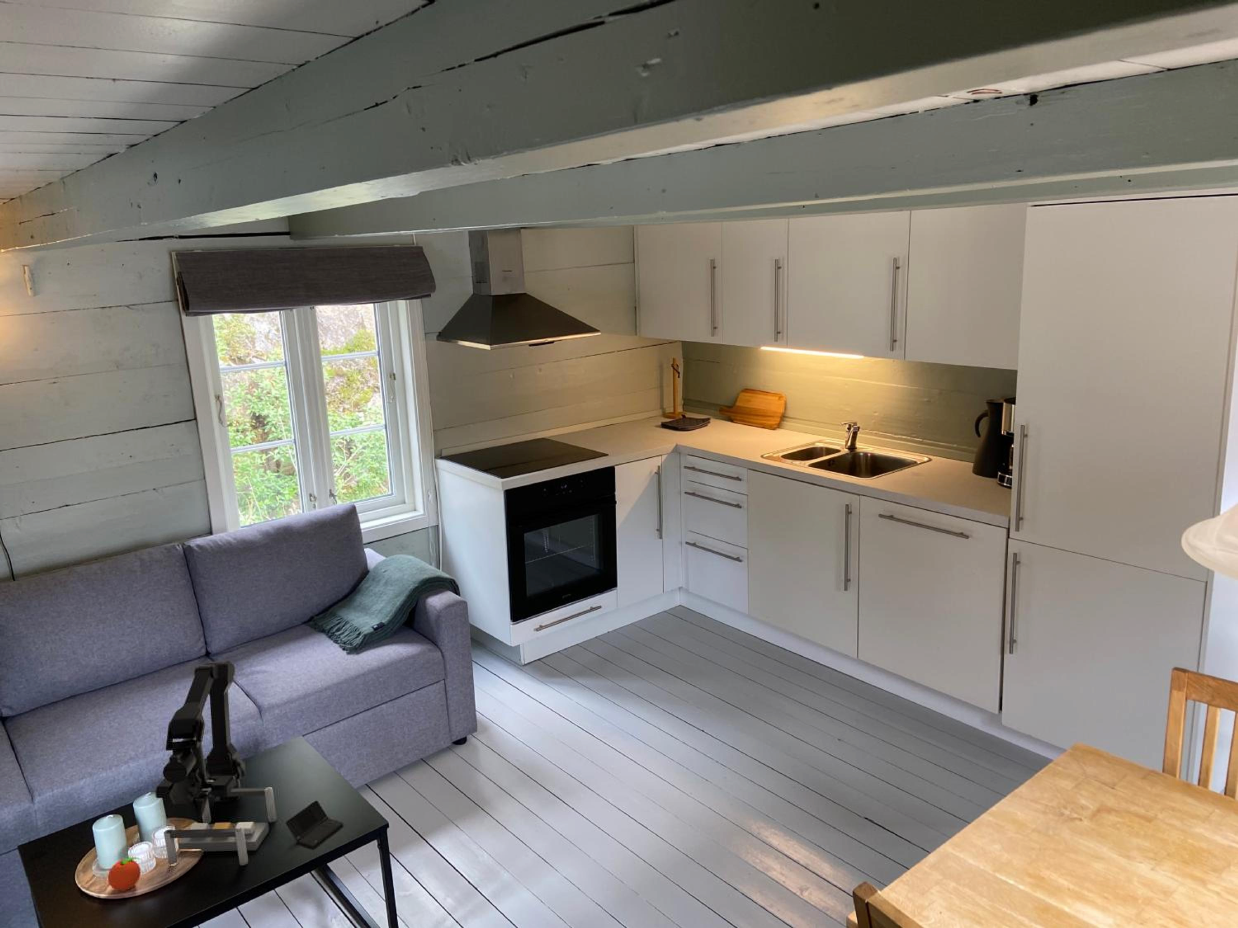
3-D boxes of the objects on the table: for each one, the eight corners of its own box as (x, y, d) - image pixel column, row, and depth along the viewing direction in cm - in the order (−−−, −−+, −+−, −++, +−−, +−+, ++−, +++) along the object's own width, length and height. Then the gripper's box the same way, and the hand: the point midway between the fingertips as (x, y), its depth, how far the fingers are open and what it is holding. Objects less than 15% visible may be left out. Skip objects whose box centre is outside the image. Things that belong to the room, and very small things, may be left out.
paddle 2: (240, 828, 237) (238, 822, 236) (255, 828, 237) (253, 821, 236) (237, 834, 236) (235, 828, 234) (252, 834, 235) (250, 828, 234)
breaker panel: (194, 832, 241) (193, 824, 241) (268, 830, 241) (267, 822, 240) (179, 851, 233) (178, 842, 233) (256, 849, 233) (255, 841, 232)
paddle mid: (217, 829, 238) (215, 822, 236) (232, 828, 237) (230, 822, 236) (214, 835, 236) (212, 828, 235) (229, 835, 236) (227, 828, 234)
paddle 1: (195, 829, 238) (192, 823, 237) (210, 829, 238) (207, 822, 236) (191, 835, 236) (189, 829, 235) (207, 835, 236) (204, 829, 235)
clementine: (137, 871, 226) (133, 846, 225) (152, 881, 222) (148, 855, 221) (104, 890, 220) (100, 864, 218) (119, 900, 216) (114, 874, 214)
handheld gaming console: (320, 843, 232) (299, 810, 233) (302, 857, 234) (281, 823, 235) (347, 823, 242) (327, 791, 244) (329, 836, 245) (309, 804, 246)
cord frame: (205, 819, 247) (200, 788, 245) (277, 817, 246) (273, 786, 244) (167, 866, 228) (162, 833, 226) (246, 864, 227) (241, 832, 225)
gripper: (138, 779, 225) (148, 835, 228) (212, 777, 224) (221, 834, 227) (162, 755, 236) (171, 809, 239) (233, 754, 235) (240, 808, 238)
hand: (200, 815), depth 236 cm, fingers closed
